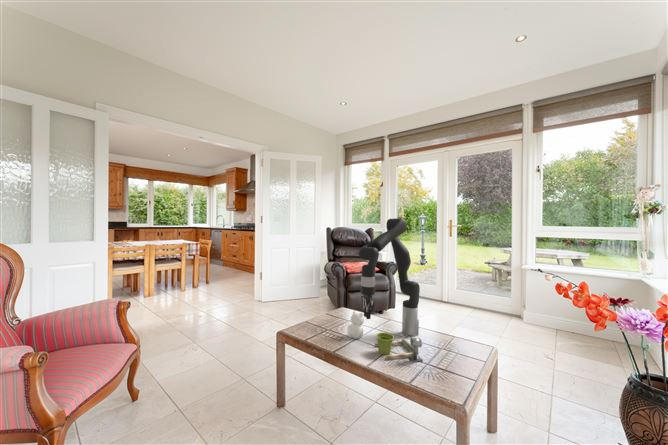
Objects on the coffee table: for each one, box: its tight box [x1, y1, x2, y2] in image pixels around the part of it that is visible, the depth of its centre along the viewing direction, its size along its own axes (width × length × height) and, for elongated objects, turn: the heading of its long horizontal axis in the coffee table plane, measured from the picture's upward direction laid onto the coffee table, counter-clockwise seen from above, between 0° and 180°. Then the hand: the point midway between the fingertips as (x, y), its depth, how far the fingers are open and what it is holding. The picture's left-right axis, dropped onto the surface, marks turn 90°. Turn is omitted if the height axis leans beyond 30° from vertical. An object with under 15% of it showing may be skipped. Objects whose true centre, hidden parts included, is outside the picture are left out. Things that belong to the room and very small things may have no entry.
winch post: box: [407, 335, 424, 363], centre depth 135 cm, size 7×5×13 cm
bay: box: [374, 338, 419, 361], centre depth 143 cm, size 18×15×3 cm
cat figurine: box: [347, 310, 365, 340], centre depth 160 cm, size 9×12×15 cm
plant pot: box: [375, 332, 395, 356], centre depth 142 cm, size 9×9×9 cm
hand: (367, 317), depth 139 cm, fingers open, 3 cm apart
